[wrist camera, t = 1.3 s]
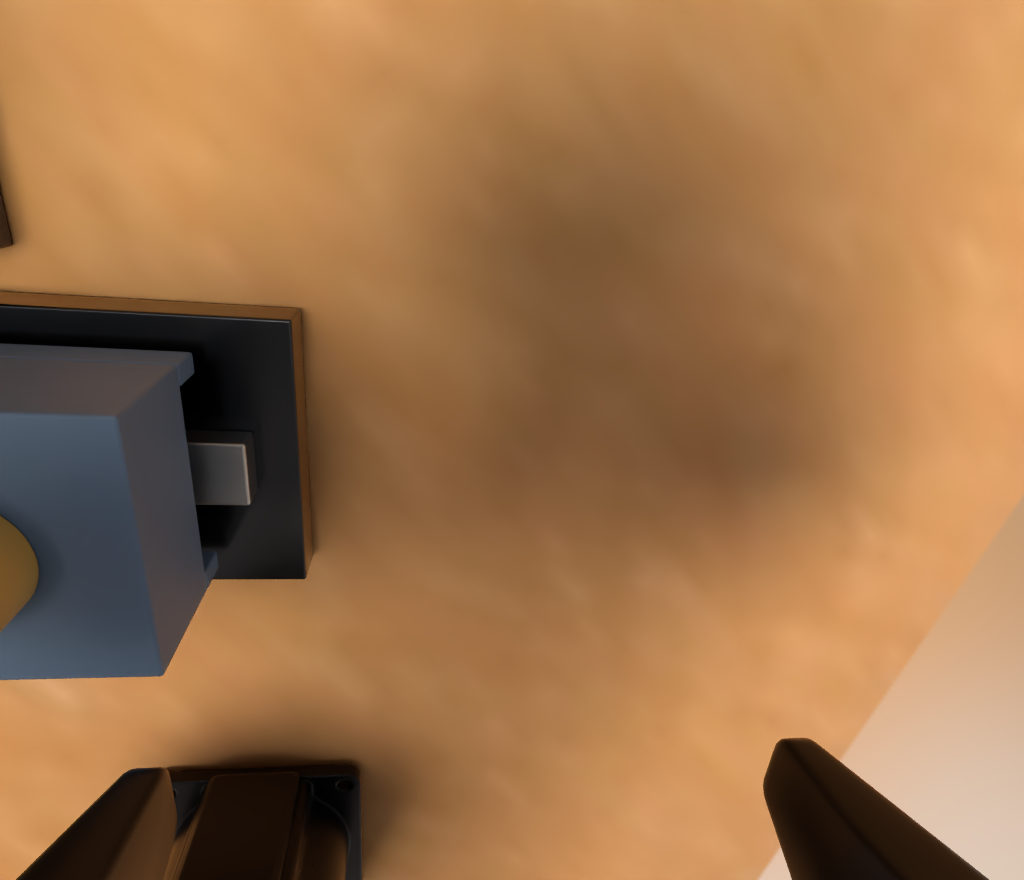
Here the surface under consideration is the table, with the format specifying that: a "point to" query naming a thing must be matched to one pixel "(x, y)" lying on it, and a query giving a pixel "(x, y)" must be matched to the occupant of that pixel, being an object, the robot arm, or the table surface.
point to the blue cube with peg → (95, 513)
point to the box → (4, 228)
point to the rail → (212, 412)
